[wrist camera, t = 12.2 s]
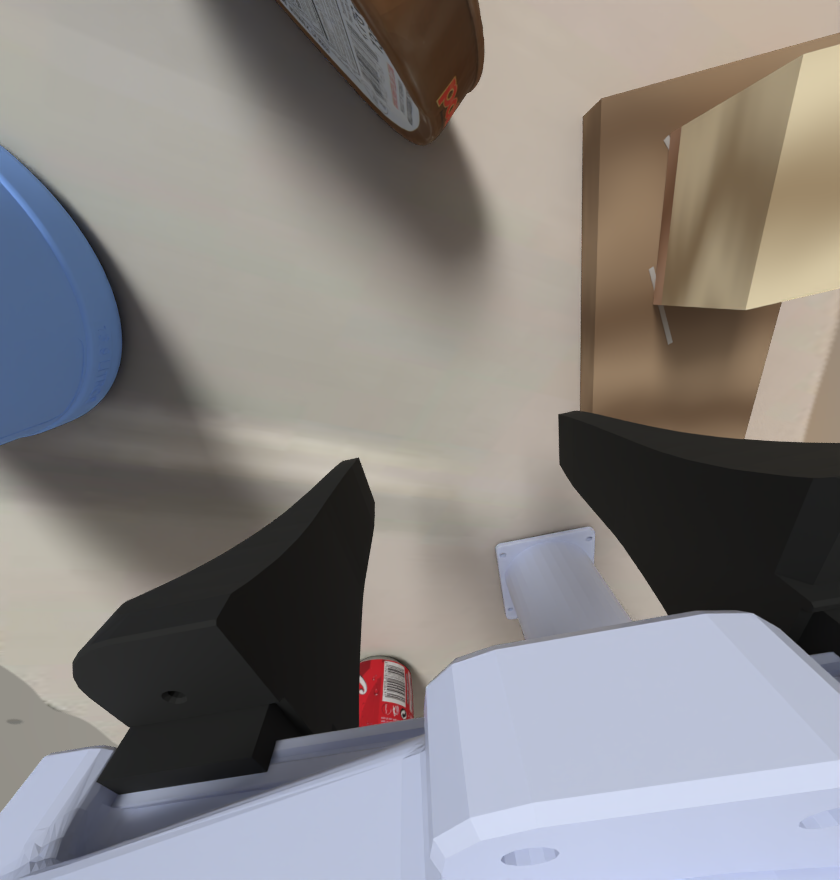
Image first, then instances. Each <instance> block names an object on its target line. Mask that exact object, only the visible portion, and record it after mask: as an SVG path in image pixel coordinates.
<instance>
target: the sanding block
mask: <svg viewBox="0 0 840 880" xmlns="http://www.w3.org/2000/svg"><path fill="white" fill-rule="evenodd" d="M835 289H840V44H839V45H835V46H831V47H828V48H824V49H820V50H817V51H813V52H810V53H806V54H803V55H801V56H800V57H798V58H796V59H795V60H793V61H791V62H790V63H788V64H786V65H784V66H783V67H781V68H779V69H778V70H776V71H774V72H773V73H771V74H769V75H768V76H766V77H764V78H763V79H761V80H759V81H758V82H756V83H754V84H752V85H751V86H749V87H747V88H746V89H744V90H742V91H741V92H739V93H737V94H736V95H734V96H732V97H731V98H729V99H727V100H726V101H724V102H722V103H721V104H719V105H717V106H715V107H714V108H712V109H710V110H709V111H707V112H705V113H704V114H702V115H700V116H699V117H697V118H695V119H694V120H692V121H690V122H689V123H687V124H685V125H683V126H682V127H680V128H678V129H677V130H675V131H673V132H672V133H671V134H670V144H669V154H668V163H667V173H666V183H665V193H664V202H663V212H662V222H661V231H660V241H659V251H658V261H657V270H656V280H655V290H654V299H653V305H667V306H684V307H701V308H717V309H734V310H748V309H753V308H757V307H761V306H766V305H770V304H775V303H779V302H783V301H788V300H792V299H796V298H801V297H805V296H809V295H814V294H818V293H822V292H827V291H831V290H835Z"/></svg>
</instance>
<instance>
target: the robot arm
mask: <svg viewBox="0 0 840 880" xmlns="http://www.w3.org/2000/svg"><path fill="white" fill-rule="evenodd" d="M558 419H559V460H560V466H561V467H562V469H563V471H564V473H565V474H566V476H567V478H568V479H569V481H570V482H571V484H572V485H573V487H574V488H575V489H576V490H577V492H578V493H579V494H580V495H581V496H582V498H583V499H584V500H585V501H586V502H587V504H588V505H589V506H590V507H591V508H592V509H593V511H594V512H595V513H596V514H597V515H598V516H599V518H600V519H601V520H602V521H603V522H604V523H605V525H606V526H607V527H608V528H609V529H610V530H611V532H612V533H613V534H614V535H615V536H616V538H617V539H618V540H619V542H620V543H621V544H622V545H623V547H624V548H625V550H626V551H627V553H628V554H629V556H630V557H631V559H632V560H633V561H634V563H635V564H636V566H637V567H638V569H639V570H640V572H641V573H642V575H643V576H644V578H645V579H646V581H647V582H648V584H649V586H650V587H651V589H652V590H653V592H654V593H655V595H656V596H657V598H658V600H659V601H660V603H661V604H662V606H663V608H664V609H665V611H666V613H667V614H668V616H662V617H656V618H650V619H644V620H639V621H632V620H631V618H630V617H629V615H628V614H627V612H626V611H625V610H624V608H623V607H622V605H621V604H620V602H619V601H618V599H617V598H616V596H615V595H614V593H613V592H612V590H611V589H610V588H609V586H608V585H607V583H606V582H605V580H604V579H603V577H602V576H601V574H600V573H599V571H598V570H597V568H596V567H595V565H594V549H595V531H594V530H593V528H592V527H583V528H578V529H572V530H567V531H562V532H557V533H552V534H546V535H541V536H536V537H531V538H526V539H520V540H515V541H510V542H505V543H500V544H498V545H497V546H496V547H495V550H496V557H497V563H498V570H499V576H500V583H501V589H502V596H503V602H504V609H505V614H506V617H507V618H508V619H516V618H518V620H519V623H520V626H521V629H522V632H523V635H524V638H525V640H523V641H517V642H511V643H505V644H499V645H494V646H491V647H488V648H485V649H482V650H479V651H476V652H473V653H470V654H467V655H464V656H461V657H458V658H456V659H455V660H454V661H452V662H451V663H450V664H449V665H448V666H447V667H446V668H445V669H444V670H442V671H441V672H440V673H439V674H438V675H437V676H436V677H435V678H434V679H433V680H432V681H431V682H430V683H429V684H428V686H427V687H426V692H425V703H424V717H420V718H413V719H407V720H401V721H395V722H388V723H382V724H376V725H370V726H363V727H359V682H360V645H361V622H362V606H363V592H364V584H365V578H366V572H367V566H368V560H369V555H370V549H371V543H372V537H373V531H374V518H375V502H374V499H373V496H372V493H371V491H370V488H369V485H368V482H367V479H366V477H365V474H364V471H363V468H362V465H361V463H360V460H359V458H355V459H350V460H345V461H342V462H341V463H339V464H338V465H337V466H336V467H335V468H333V469H332V470H331V471H330V472H329V473H328V474H327V475H326V476H325V477H324V478H323V479H322V480H321V481H320V482H319V483H318V484H316V485H315V486H314V487H313V488H312V489H311V490H310V491H309V492H308V493H307V494H306V495H304V496H303V497H302V498H301V499H300V500H299V501H297V502H296V503H295V504H294V505H293V506H292V507H291V508H289V509H288V510H287V511H286V512H284V513H283V514H282V515H281V516H279V517H278V518H277V519H275V520H274V521H273V522H271V523H270V524H269V525H267V526H266V527H264V528H263V529H262V530H260V531H259V532H257V533H256V534H254V535H252V536H251V537H249V538H248V539H246V540H245V541H243V542H241V543H240V544H238V545H237V546H235V547H233V548H232V549H230V550H229V551H227V552H225V553H224V554H222V555H220V556H218V557H216V558H215V559H213V560H211V561H209V562H207V563H206V564H204V565H202V566H200V567H198V568H196V569H194V570H192V571H190V572H189V573H187V574H185V575H183V576H181V577H179V578H177V579H174V580H172V581H170V582H168V583H166V584H164V585H161V586H159V587H157V588H155V589H153V590H151V591H149V592H146V593H144V594H142V595H140V596H138V597H136V598H133V599H131V600H129V601H126V602H125V603H124V604H122V605H121V606H120V607H119V608H118V609H117V610H116V612H115V613H114V614H113V615H112V616H111V617H110V618H109V619H108V620H107V621H106V623H105V624H104V625H103V626H102V627H101V628H100V629H99V630H98V631H97V632H96V634H95V635H94V636H93V637H92V638H91V639H90V640H89V641H88V642H87V644H86V645H85V646H84V647H83V648H82V649H81V650H80V651H79V652H78V654H77V656H76V657H75V659H74V661H73V678H74V680H75V682H76V683H77V685H78V687H79V688H80V689H81V690H82V691H83V692H84V693H85V694H86V695H87V696H88V697H89V698H90V699H92V700H93V701H94V702H96V703H97V704H98V705H100V706H101V707H102V708H104V709H105V710H106V711H108V712H109V713H110V714H112V715H113V716H114V717H116V718H117V719H118V720H120V721H121V722H122V723H124V724H125V725H127V726H128V727H130V729H129V730H128V732H127V734H126V735H125V737H124V738H123V740H122V741H121V743H120V745H119V746H118V748H115V747H111V746H105V745H104V746H103V745H102V746H91V747H85V748H79V749H73V750H67V751H61V752H55V753H51V754H49V755H47V756H45V757H44V758H43V759H42V760H41V761H40V763H39V764H38V765H37V767H36V768H35V769H34V770H33V772H32V773H31V774H30V776H29V777H28V778H27V779H26V781H25V782H24V783H23V785H22V786H21V787H20V788H19V790H18V791H17V792H16V794H15V795H14V796H13V798H12V799H11V800H10V802H9V803H8V804H7V805H6V807H5V808H4V809H3V810H2V812H1V813H0V880H840V443H802V442H778V441H762V440H748V439H735V438H725V437H716V436H708V435H700V434H692V433H686V432H679V431H673V430H668V429H663V428H657V427H652V426H647V425H643V424H638V423H633V422H629V421H625V420H620V419H616V418H612V417H608V416H603V415H599V414H594V413H590V412H584V411H572V412H568V413H563V414H558ZM501 553H503V554H501Z"/></svg>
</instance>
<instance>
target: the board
mask: <svg viewBox="0 0 840 880" xmlns="http://www.w3.org/2000/svg"><path fill="white" fill-rule="evenodd" d="M839 44H840V33H837V34H833V35H829V36H826V37H822V38H819V39H815V40H811V41H808V42H804V43H800V44H797V45H793V46H790V47H786V48H782V49H779V50H775V51H772V52H768V53H764V54H761V55H757V56H753V57H750V58H746V59H743V60H739V61H735V62H732V63H728V64H724V65H721V66H717V67H714V68H710V69H706V70H703V71H699V72H696V73H692V74H688V75H685V76H681V77H677V78H674V79H670V80H667V81H663V82H659V83H656V84H652V85H649V86H645V87H641V88H638V89H634V90H630V91H627V92H623V93H620V94H616V95H612V96H609V97H605V98H602V99H601V100H600V101H599V102H597V103H596V104H595V105H594V106H593V107H592V108H591V109H590V110H589V111H588V112H587V113H586V114H585V115H584V116H583V181H582V285H581V388H580V411H584V412H590V413H594V414H599V415H603V416H608V417H612V418H616V419H620V420H625V421H629V422H633V423H638V424H643V425H647V426H652V427H657V428H663V429H668V430H673V431H679V432H686V433H692V434H700V435H708V436H716V437H725V438H735V439H744V438H745V434H746V430H747V427H748V423H749V420H750V416H751V412H752V409H753V405H754V401H755V398H756V394H757V390H758V387H759V383H760V379H761V376H762V372H763V368H764V365H765V361H766V357H767V354H768V350H769V346H770V343H771V339H772V336H773V332H774V328H775V325H776V321H777V317H778V314H779V310H780V306H781V303H782V302H779V303H775V304H770V305H766V306H761V307H757V308H753V309H748V310H734V309H717V308H701V307H684V306H667V305H653V299H654V290H655V280H656V270H657V261H658V251H659V241H660V231H661V222H662V212H663V202H664V193H665V183H666V173H667V163H668V154H669V144H670V134H671V133H672V132H673V131H675V130H677V129H678V128H680V127H682V126H683V125H685V124H687V123H689V122H690V121H692V120H694V119H695V118H697V117H699V116H700V115H702V114H704V113H705V112H707V111H709V110H710V109H712V108H714V107H715V106H717V105H719V104H721V103H722V102H724V101H726V100H727V99H729V98H731V97H732V96H734V95H736V94H737V93H739V92H741V91H742V90H744V89H746V88H747V87H749V86H751V85H752V84H754V83H756V82H758V81H759V80H761V79H763V78H764V77H766V76H768V75H769V74H771V73H773V72H774V71H776V70H778V69H779V68H781V67H783V66H784V65H786V64H788V63H790V62H791V61H793V60H795V59H796V58H798V57H800V56H801V55H803V54H806V53H810V52H813V51H817V50H820V49H824V48H828V47H831V46H835V45H839Z"/></svg>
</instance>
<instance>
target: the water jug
mask: <svg viewBox="0 0 840 880" xmlns="http://www.w3.org/2000/svg"><path fill="white" fill-rule="evenodd" d="M121 354H122V330H121V323H120V317H119V312H118V308H117V304H116V301H115V298H114V295H113V292H112V289H111V286H110V284H109V281H108V279H107V277H106V274H105V272H104V270H103V268H102V266H101V264H100V262H99V260H98V258H97V256H96V255H95V253H94V251H93V249H92V248H91V246H90V244H89V243H88V241H87V240H86V238H85V237H84V235H83V234H82V232H81V231H80V229H79V228H78V226H77V225H76V224H75V222H74V221H73V219H72V218H71V217H70V215H69V214H68V213H67V212H66V210H65V209H64V208H63V207H62V205H61V204H60V203H59V202H58V201H57V199H56V198H55V197H54V196H53V195H52V194H51V193H50V192H49V190H48V189H47V188H46V187H45V186H44V185H43V184H42V183H41V182H40V181H39V180H38V179H37V178H36V177H35V176H34V175H33V174H32V173H31V172H30V171H29V170H28V169H27V168H26V167H25V166H24V165H23V164H22V163H21V162H19V161H18V160H17V159H16V158H15V157H14V156H13V155H12V154H10V153H9V152H8V151H7V150H6V149H4V148H3V147H2V146H1V145H0V445H3V444H5V443H8V442H10V441H13V440H16V439H18V438H22V437H28V436H32V435H36V434H39V433H42V432H45V431H47V430H50V429H53V428H55V427H58V426H60V425H63V424H65V423H68V422H70V421H73V420H75V419H77V418H79V417H81V416H82V415H84V414H86V413H87V412H89V411H90V410H91V409H92V408H94V407H95V406H96V405H97V404H98V403H99V402H100V401H101V400H102V399H103V398H104V397H105V395H106V394H107V393H108V391H109V390H110V388H111V386H112V384H113V382H114V380H115V378H116V375H117V373H118V369H119V366H120V361H121Z"/></svg>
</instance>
